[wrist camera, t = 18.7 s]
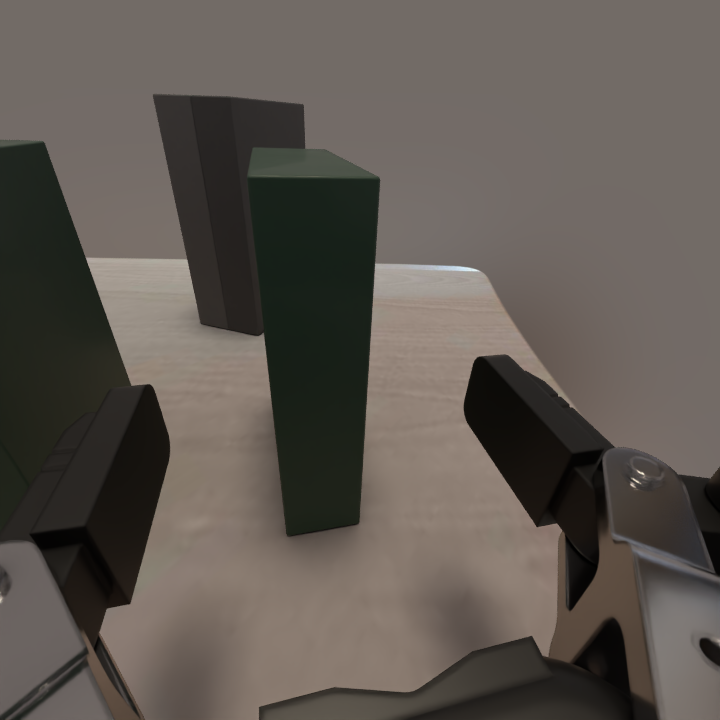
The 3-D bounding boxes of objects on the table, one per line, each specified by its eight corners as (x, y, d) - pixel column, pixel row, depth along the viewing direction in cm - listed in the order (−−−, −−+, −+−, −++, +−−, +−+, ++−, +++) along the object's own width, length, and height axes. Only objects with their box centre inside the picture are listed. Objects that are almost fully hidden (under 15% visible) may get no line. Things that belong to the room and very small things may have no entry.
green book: (328, 399, 24) (327, 149, 17) (359, 523, 17) (381, 176, 9) (277, 404, 23) (251, 147, 16) (286, 536, 16) (246, 174, 9)
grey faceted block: (310, 292, 39) (304, 104, 30) (258, 336, 31) (229, 96, 22) (262, 284, 40) (243, 102, 31) (200, 323, 32) (151, 93, 23)
